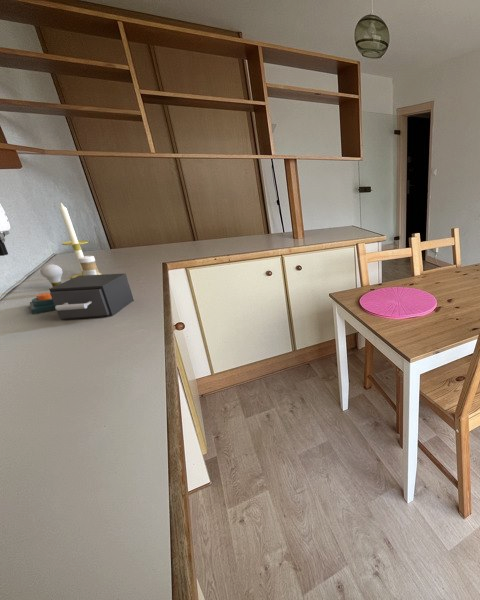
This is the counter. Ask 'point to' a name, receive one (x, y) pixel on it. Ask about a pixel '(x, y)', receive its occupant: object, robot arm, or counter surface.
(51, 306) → the block
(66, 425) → the counter surface
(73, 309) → the dark grey drawer
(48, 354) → the counter surface
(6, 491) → the counter surface
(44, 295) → the button
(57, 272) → the light bulb
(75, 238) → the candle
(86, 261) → the sprinkles bottle
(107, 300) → the dark grey drawer box
